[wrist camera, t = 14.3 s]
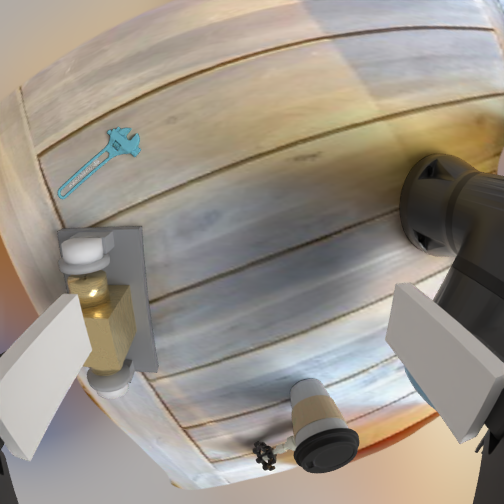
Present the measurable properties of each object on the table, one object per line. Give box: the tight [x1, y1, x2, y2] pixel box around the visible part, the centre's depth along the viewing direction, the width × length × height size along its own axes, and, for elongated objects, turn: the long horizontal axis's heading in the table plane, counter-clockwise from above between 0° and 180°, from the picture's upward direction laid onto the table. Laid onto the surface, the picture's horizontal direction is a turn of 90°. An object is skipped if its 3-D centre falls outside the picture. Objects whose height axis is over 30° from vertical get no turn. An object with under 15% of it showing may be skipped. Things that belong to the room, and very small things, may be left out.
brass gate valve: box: [67, 270, 137, 376], centre depth 35 cm, size 8×13×9 cm, turn 179°
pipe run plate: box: [57, 226, 158, 399], centre depth 37 cm, size 12×22×9 cm, turn 179°
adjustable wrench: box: [58, 127, 141, 199], centre depth 35 cm, size 14×1×5 cm
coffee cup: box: [290, 379, 359, 473], centre depth 42 cm, size 9×9×15 cm
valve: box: [253, 436, 296, 471], centre depth 49 cm, size 7×7×12 cm
